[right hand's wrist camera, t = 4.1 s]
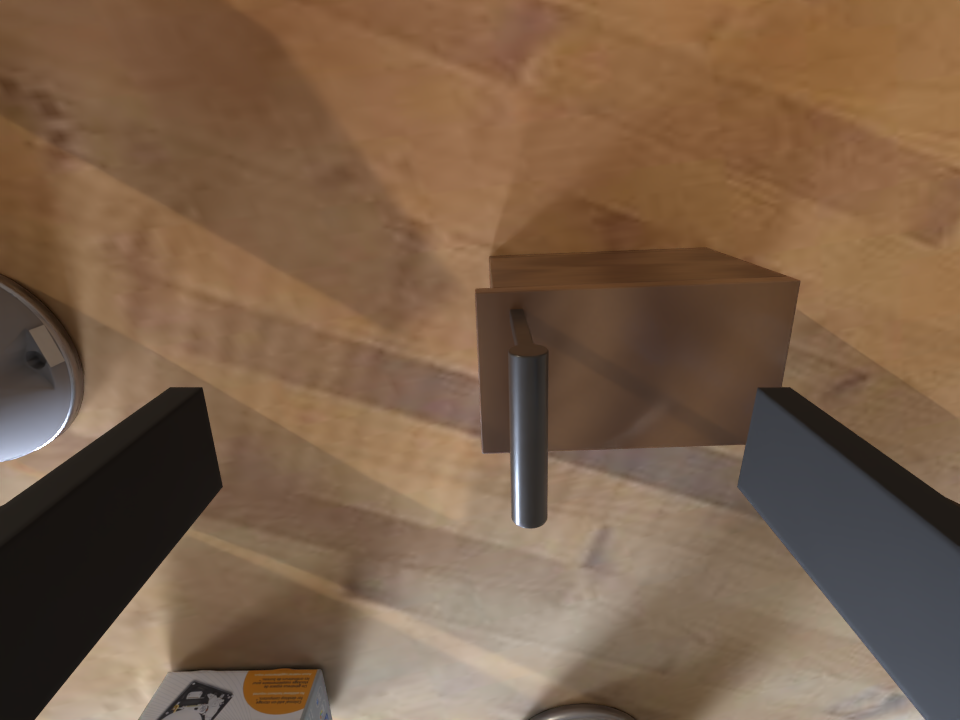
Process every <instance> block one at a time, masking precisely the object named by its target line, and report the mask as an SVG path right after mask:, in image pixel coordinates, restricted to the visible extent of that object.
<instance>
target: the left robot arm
mask: <svg viewBox="0 0 960 720" xmlns="http://www.w3.org/2000/svg"><path fill="white" fill-rule="evenodd" d="M529 720H635V719H634V718H633V717H631V716H629V715H628V714H626V713H624V712H622V711H619V710H617V709H614V708H611V707H607V706H602V705H596V704H572V705H565V706H560V707H556V708H553V709H550V710H547V711H544V712H542V713H540V714H538V715H536V716H534V717H532V718H531V719H529Z"/></svg>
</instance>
